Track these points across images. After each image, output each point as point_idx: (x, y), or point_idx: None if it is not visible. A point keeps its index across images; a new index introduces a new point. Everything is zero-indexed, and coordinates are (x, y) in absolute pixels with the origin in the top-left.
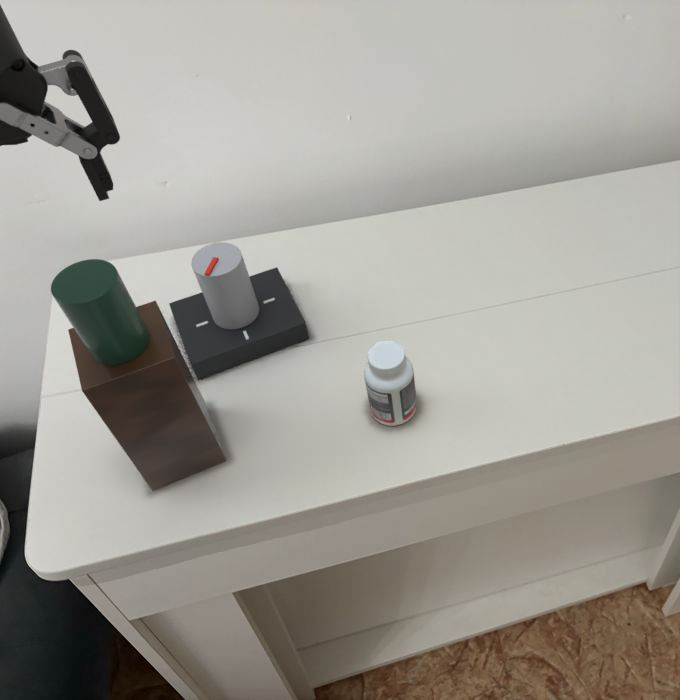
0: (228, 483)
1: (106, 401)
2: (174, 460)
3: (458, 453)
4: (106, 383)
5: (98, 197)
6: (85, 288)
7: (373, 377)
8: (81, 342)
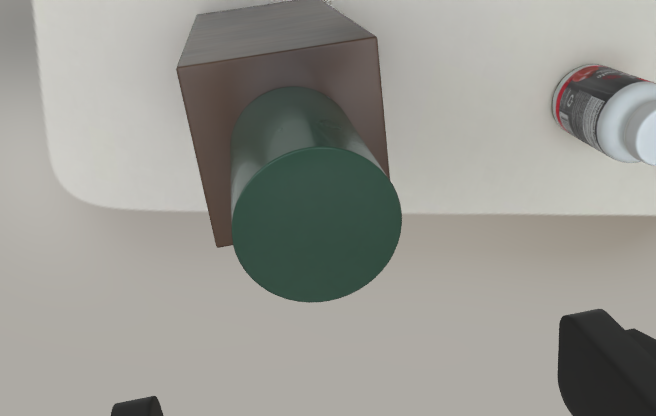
0: None
1: None
2: None
3: (623, 197)
4: None
5: (572, 411)
6: (320, 256)
7: (616, 140)
8: (210, 121)
